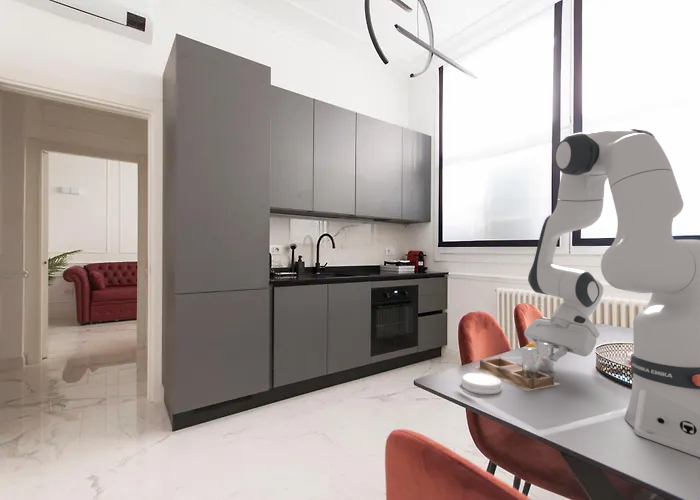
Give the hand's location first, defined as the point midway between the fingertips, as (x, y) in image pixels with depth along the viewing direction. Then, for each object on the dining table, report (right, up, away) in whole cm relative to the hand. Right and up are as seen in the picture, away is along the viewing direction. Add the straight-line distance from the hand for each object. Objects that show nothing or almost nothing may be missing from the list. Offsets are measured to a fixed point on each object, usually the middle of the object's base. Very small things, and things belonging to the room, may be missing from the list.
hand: (544, 357), depth 105 cm
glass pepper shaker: (+1, -5, 0) cm, 5 cm away
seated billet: (-9, -4, -9) cm, 13 cm away
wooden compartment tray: (-11, -5, -4) cm, 12 cm away
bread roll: (+8, -5, +18) cm, 21 cm away
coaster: (-24, -6, -12) cm, 27 cm away
